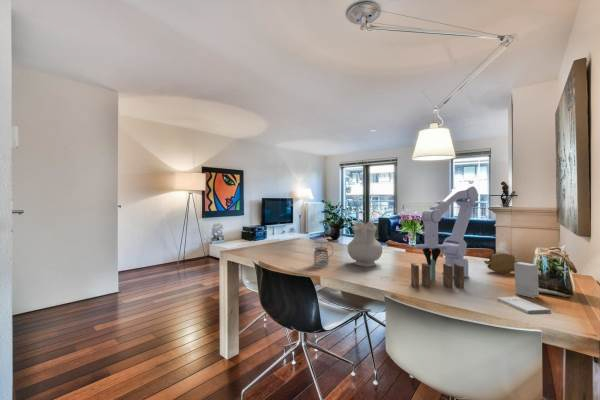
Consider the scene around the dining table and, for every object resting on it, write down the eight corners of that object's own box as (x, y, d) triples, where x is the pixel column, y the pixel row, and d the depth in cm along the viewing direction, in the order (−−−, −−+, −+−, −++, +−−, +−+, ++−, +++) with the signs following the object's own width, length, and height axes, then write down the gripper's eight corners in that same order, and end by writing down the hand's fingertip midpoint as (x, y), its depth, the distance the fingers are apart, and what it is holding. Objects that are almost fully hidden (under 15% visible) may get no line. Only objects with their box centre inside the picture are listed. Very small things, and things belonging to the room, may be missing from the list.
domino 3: (431, 277, 132) (431, 258, 132) (435, 280, 127) (435, 260, 127) (427, 277, 132) (427, 258, 132) (431, 280, 127) (431, 260, 127)
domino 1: (414, 283, 122) (414, 263, 122) (419, 287, 117) (418, 265, 117) (411, 283, 122) (411, 263, 122) (415, 287, 117) (414, 265, 117)
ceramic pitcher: (386, 271, 147) (390, 224, 147) (349, 268, 147) (353, 221, 148) (376, 262, 169) (379, 221, 169) (344, 260, 169) (347, 219, 169)
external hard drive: (527, 315, 89) (496, 301, 102) (551, 314, 90) (517, 300, 103) (527, 310, 89) (496, 296, 102) (551, 309, 90) (517, 296, 103)
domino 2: (425, 284, 121) (425, 263, 121) (430, 287, 116) (430, 266, 116) (421, 284, 121) (421, 263, 121) (426, 287, 116) (426, 265, 116)
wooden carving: (518, 272, 141) (518, 252, 141) (523, 274, 136) (523, 254, 136) (482, 270, 143) (482, 251, 144) (486, 273, 139) (486, 253, 139)
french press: (313, 263, 162) (313, 220, 162) (333, 264, 160) (333, 220, 160) (311, 267, 152) (311, 221, 152) (333, 268, 150) (332, 221, 150)
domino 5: (457, 284, 120) (457, 263, 120) (463, 288, 115) (463, 266, 115) (454, 284, 120) (453, 263, 120) (459, 288, 115) (459, 266, 115)
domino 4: (447, 284, 121) (447, 263, 121) (452, 288, 116) (452, 266, 116) (443, 284, 121) (443, 263, 121) (448, 288, 116) (448, 266, 116)
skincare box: (539, 297, 105) (539, 264, 105) (533, 298, 103) (532, 265, 103) (520, 292, 110) (520, 261, 110) (514, 293, 108) (513, 262, 108)
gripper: (443, 234, 133) (443, 263, 133) (412, 234, 134) (412, 262, 134) (450, 236, 126) (450, 266, 126) (417, 236, 127) (417, 266, 127)
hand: (431, 264), depth 129 cm, fingers closed on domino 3, 2 cm apart
